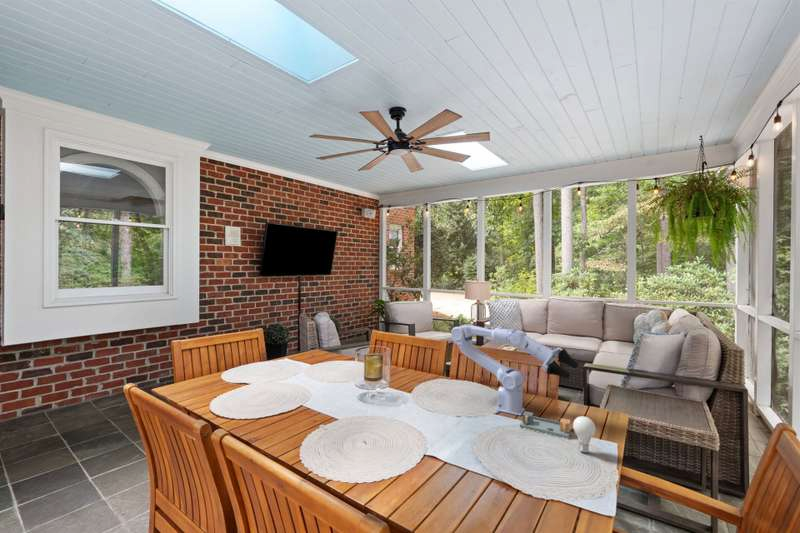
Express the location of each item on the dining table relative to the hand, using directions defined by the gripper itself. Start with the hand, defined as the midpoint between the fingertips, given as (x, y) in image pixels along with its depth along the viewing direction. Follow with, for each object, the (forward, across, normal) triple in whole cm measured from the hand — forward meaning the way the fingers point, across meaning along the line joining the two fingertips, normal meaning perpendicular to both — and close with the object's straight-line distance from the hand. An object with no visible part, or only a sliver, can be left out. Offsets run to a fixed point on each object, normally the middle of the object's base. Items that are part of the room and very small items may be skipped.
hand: (573, 371), depth 133 cm
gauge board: (+2, -15, +17) cm, 23 cm away
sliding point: (+7, -15, +13) cm, 21 cm away
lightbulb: (+15, -23, +8) cm, 28 cm away
